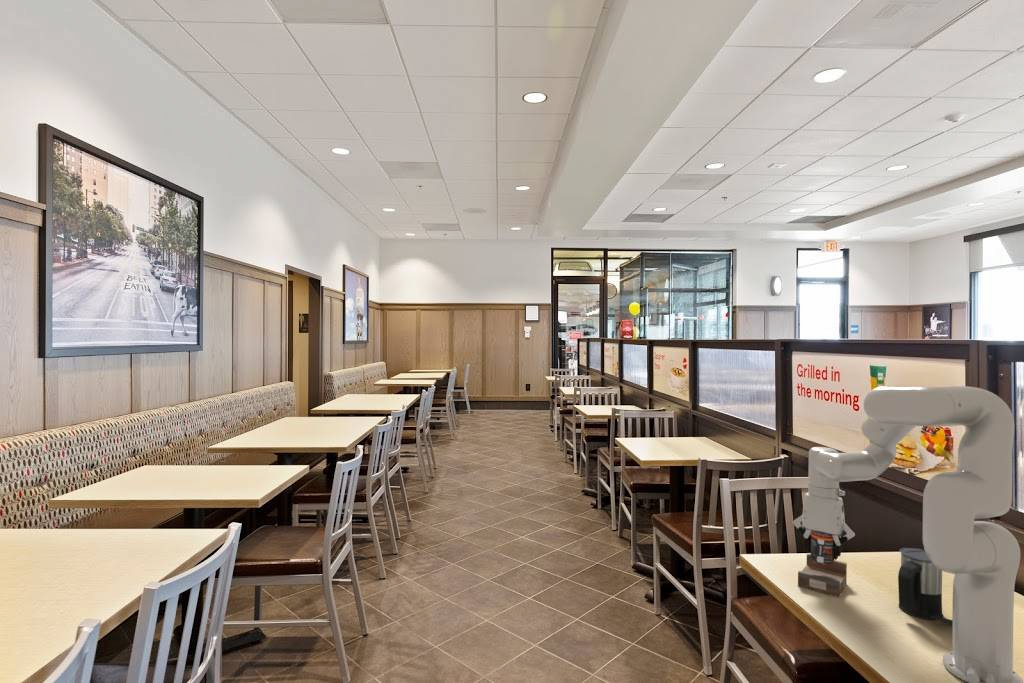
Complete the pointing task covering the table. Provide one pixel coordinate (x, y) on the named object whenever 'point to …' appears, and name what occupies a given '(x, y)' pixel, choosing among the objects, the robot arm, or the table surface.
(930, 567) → the milk frother
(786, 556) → the table surface
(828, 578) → the shelf
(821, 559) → the supplement bottle
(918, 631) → the table surface
